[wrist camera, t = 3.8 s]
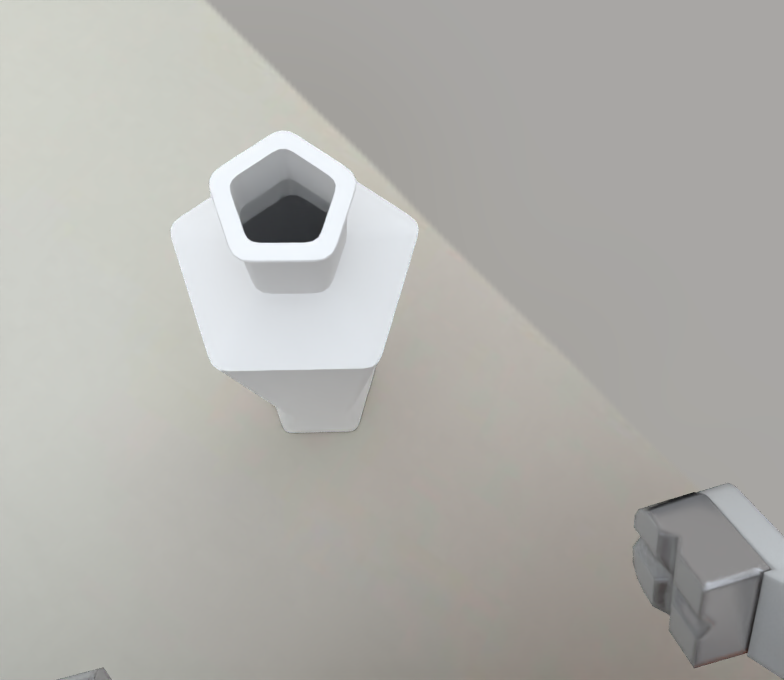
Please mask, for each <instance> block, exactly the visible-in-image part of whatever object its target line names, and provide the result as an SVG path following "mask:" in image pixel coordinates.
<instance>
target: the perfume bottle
mask: <svg viewBox="0 0 784 680" xmlns="http://www.w3.org/2000/svg"><path fill="white" fill-rule="evenodd" d="M209 188H210V194H211V197H210V198H208V199H207V200H205V201H204V202H202V203H201V204H199V205H197V206H196V207H194V208H193V209H191V210H190V211H188V212H187V213H185V214H184V215H182V216H181V217H179V218H178V219H177V220H176V221H175V222H174V223H173V225H172V227H171V230H170V231H171V239H172V242H173V245H174V248H175V252H176V255H177V258H178V261H179V264H180V268H181V271H182V274H183V277H184V280H185V284H186V287H187V290H188V293H189V297H190V300H191V303H192V306H193V309H194V313H195V316H196V319H197V322H198V325H199V329H200V332H201V335H202V338H203V342H204V345H205V348H206V351H207V354H208V358H209V360H210V361H211V363H212V365H213V366H214V367H216V368H217V369H218V370H220V371H222V372H223V373H225V374H226V375H228V376H229V377H231V378H232V379H234V380H235V381H237V382H238V383H240V384H242V385H243V386H245V387H246V388H248V389H249V390H251V391H252V392H254V393H255V394H257V395H259V396H260V397H262V398H263V399H265V400H266V401H268V402H269V403H271V404H272V405H274V406H276V409H277V412H278V415H279V418H280V421H281V424H282V427H283V429H284V430H285V431H286V432H290V433H307V432H345V431H353V430H355V429H356V428H357V427H358V425H359V422H360V419H361V415H362V412H363V409H364V405H365V402H366V399H367V395H368V392H369V389H370V385H371V382H372V379H373V375H374V372H375V367H376V365H377V364H378V362H379V360H380V358H381V356H382V354H383V350H384V347H385V344H386V340H387V337H388V334H389V330H390V327H391V324H392V320H393V317H394V314H395V310H396V307H397V304H398V300H399V297H400V294H401V290H402V287H403V284H404V280H405V277H406V274H407V270H408V267H409V264H410V260H411V257H412V254H413V250H414V247H415V244H416V240H417V237H418V229H419V228H418V225H417V223H416V221H415V220H414V219H413V218H412V217H411V216H409V215H408V214H406V213H405V212H403V211H402V210H400V209H399V208H397V207H396V206H394V205H393V204H391V203H389V202H388V201H386V200H385V199H383V198H382V197H380V196H379V195H377V194H376V193H374V192H373V191H371V190H370V189H368V188H367V187H365V186H363V185H362V184H360V183H359V182H357V181H356V179H355V176H354V174H353V173H352V172H351V171H350V170H349V169H348V168H347V167H346V166H344V165H342V164H341V163H339V162H338V161H336V160H335V159H333V158H332V157H330V156H329V155H327V154H326V153H324V152H323V151H321V150H320V149H318V148H316V147H315V146H313V145H312V144H310V143H309V142H307V141H306V140H304V139H303V138H301V137H300V136H298V135H296V134H294V133H292V132H289V131H277V132H275V133H272V134H270V135H269V136H267V137H265V138H264V139H262V140H261V141H259V142H258V143H256V144H255V145H253V146H251V147H250V148H248V149H247V150H245V151H244V152H242V153H241V154H239V155H238V156H236V157H234V158H233V159H231V160H230V161H228V162H227V163H225V164H224V165H222V166H220V167H219V168H218V169H217V170H216V171H215V172H214V173H212V175H211V178H210V180H209Z"/></svg>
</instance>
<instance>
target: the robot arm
mask: <svg viewBox="0 0 784 680" xmlns="http://www.w3.org/2000/svg"><path fill="white" fill-rule="evenodd" d="M634 528H635V529H636V531H637V532H638V533H639V535H640V536H641V537H640V538H639V539H638V541H637V542H636V543H635V545H634V546H633V565H634V568H635V572H636V576H637V579H638V581H639V583H640V585H641V587H642V590H643V592H644V593H645V595H646V596H647V598H648V600H649V601H650V603H651V604H652V606H654V607H655V608H657V609H659V610H661V611H663V612H665V613H667V614H669V615H670V622H669V632H670V633H671V635H672V636H673V638H674V639H675V641H676V642H677V643H678V645H679V646H680V648H681V649H682V651H683V652H684V654H685V655H686V657H687V658H688V660H689V661H690V663H691V664H692V666H693V667H694V668H697V667H700V666H704V665H707V664H711V663H714V662H717V661H721V660H724V659H728V658H731V657H735V656H738V655H741V654H745V653H748V654H747V656H748V657H749V658H751V659H753V660H754V661H756V662H757V663H759V664H760V665H762V666H763V667H765V668H766V669H768V670H770V671H771V672H773V673H774V674H776V675H777V676H779V677H780V678H782V679H784V536H783V535H782V534H781V533H780V532H779V531H778V530H777V529H776V528H775V527H774V526H773V524H772V523H771V522H770V521H769V520H768V519H767V518H766V517H765V516H764V515H763V514H762V513H761V512H760V511H759V510H758V509H757V508H756V507H755V506H754V505H753V504H752V503H751V502H750V501H749V500H748V498H747V497H746V496H745V495H743V493H742V492H741V491H740V490H739V489H738V488H737V487H736V486H734V485H732V484H730V483H727V484H723V485H720V486H716V487H713V488H710V489H706V490H703V491H699V492H697V493H696V492H693V493H690V494H687V495H683V496H680V497H677V498H674V499H670V500H667V501H664V502H661V503H657V504H654V505H651V506H648V507H645V508H641V509H638V511H637V513H636V514H635V519H634ZM58 680H112V679H111V678H110V676H109V675H108V673H107V672H106V670H105V669H104V668H99V669H95V670H92V671H88V672H84V673H80V674H77V675H73V676H69V677H65V678H61V679H58Z"/></svg>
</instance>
